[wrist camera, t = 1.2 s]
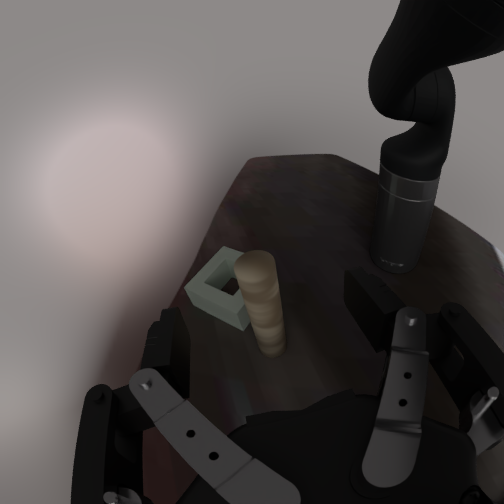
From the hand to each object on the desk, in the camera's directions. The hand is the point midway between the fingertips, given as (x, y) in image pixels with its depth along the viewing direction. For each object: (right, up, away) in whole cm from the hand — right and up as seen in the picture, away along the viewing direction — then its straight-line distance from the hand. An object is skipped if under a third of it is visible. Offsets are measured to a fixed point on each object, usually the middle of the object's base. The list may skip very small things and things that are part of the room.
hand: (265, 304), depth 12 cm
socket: (-3, -4, +31) cm, 31 cm away
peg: (+2, -10, +23) cm, 25 cm away
